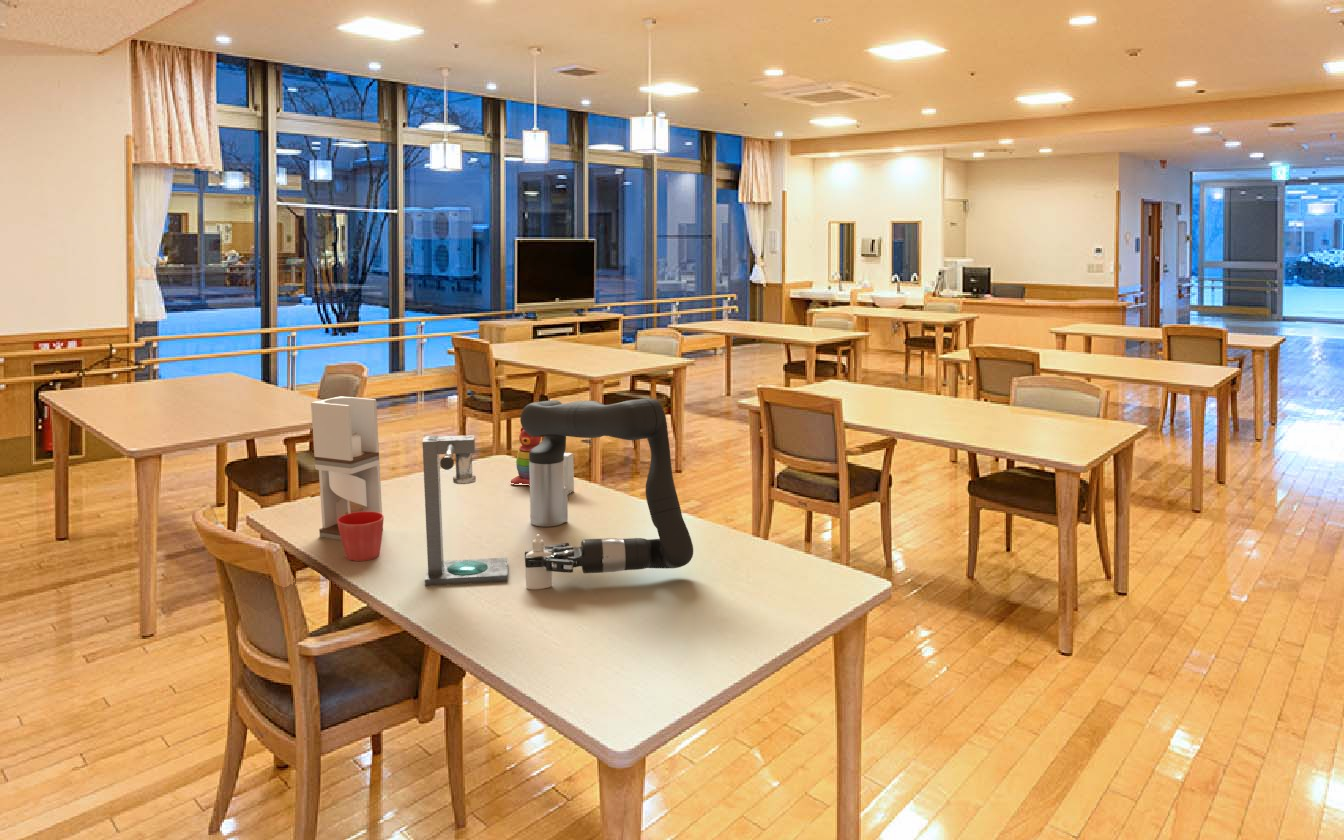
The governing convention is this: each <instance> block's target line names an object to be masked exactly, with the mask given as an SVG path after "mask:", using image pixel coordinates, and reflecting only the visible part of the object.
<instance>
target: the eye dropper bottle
mask: <svg viewBox="0 0 1344 840" xmlns="http://www.w3.org/2000/svg"><path fill="white" fill-rule="evenodd" d="M544 544H545V543H544V540H543V539H541V535H540V534H536V535H535V539H533V540H532V550H529V551H530V552H528V553H527V554H526V556H525V555H524V559H525V558H526V557H538V556H542V558H543V556H550V555H551V552H549V551H547V550H544V549H545V545H544ZM524 566H525V565H524ZM524 568H525V587H526V588H527V589H528V590H543V589H548V588H551V587H552V585H553V571H546V569H545V568H543V567H532V568H527V567H526V566H525V567H524Z"/></svg>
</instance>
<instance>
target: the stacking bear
mask: <svg viewBox="0 0 1344 840" xmlns="http://www.w3.org/2000/svg"><path fill="white" fill-rule="evenodd" d="M519 442H520V444H521V445H520V446H519V448H518V451H517V455H516V460H515V462H516V463H515V465H516V470H517V474H518V476H515V477H513V478H512V479H510V482H511V483H514V484H519V483H522V484H529V485H530V471H529V452H530V450H531V449H532V448H534V447H536V446H537V445H539V444H540V443H541V442H542V437H533V436H530V435H529V434H527V433H526V432H525V431H524V429H523V428H522V427H521V428H520V433H519Z"/></svg>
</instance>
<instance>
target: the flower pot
mask: <svg viewBox="0 0 1344 840" xmlns="http://www.w3.org/2000/svg"><path fill="white" fill-rule="evenodd" d="M384 518H385V516H384V515H383V513H382V514H381V513H378V512H371V511H364V512H354V513H349V514H346V515H343V516H341V517H339V518H338V519H337V524H338V528H339V532H340V536H341V540H340V541H341V543H342V547H343V552H344V554H345V558H346V559H347V560H349V561H353V562H363V561H369V560H373V559H376V558H378V557H379V555H380V554H381V553H380V552H381V546H382V541H383V540H382V538H383V531H384ZM382 530H383V531H382Z"/></svg>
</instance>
